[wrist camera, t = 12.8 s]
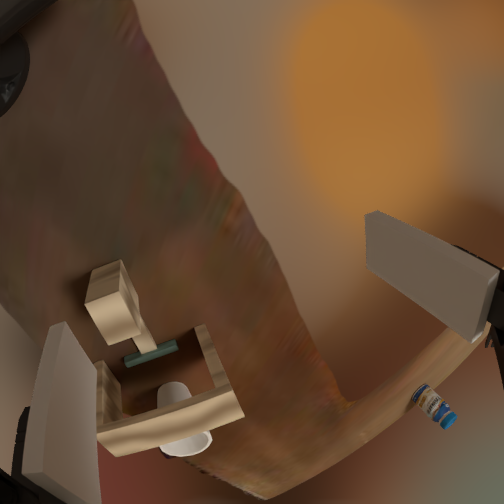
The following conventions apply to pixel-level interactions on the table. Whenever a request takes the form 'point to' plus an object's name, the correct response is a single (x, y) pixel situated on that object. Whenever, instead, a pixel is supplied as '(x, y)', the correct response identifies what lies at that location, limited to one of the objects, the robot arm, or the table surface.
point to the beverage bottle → (434, 406)
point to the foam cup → (191, 444)
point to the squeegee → (121, 313)
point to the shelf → (163, 409)
